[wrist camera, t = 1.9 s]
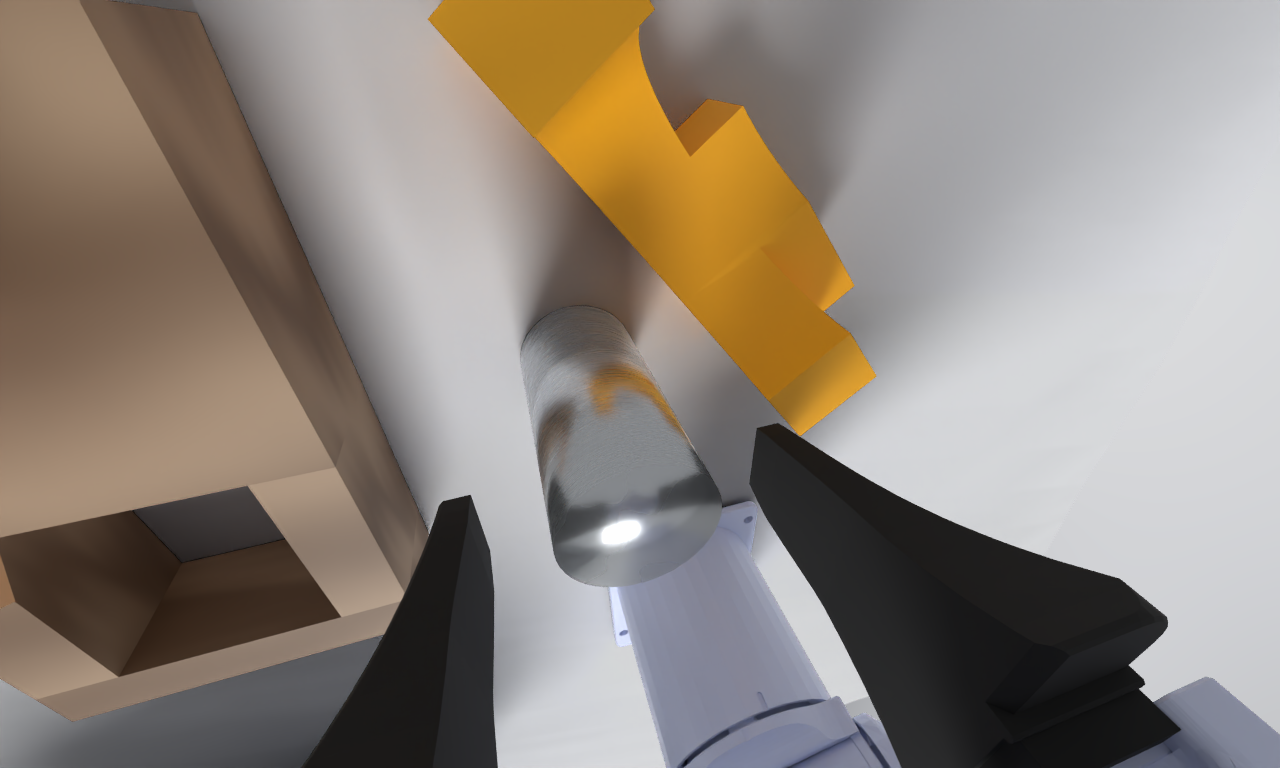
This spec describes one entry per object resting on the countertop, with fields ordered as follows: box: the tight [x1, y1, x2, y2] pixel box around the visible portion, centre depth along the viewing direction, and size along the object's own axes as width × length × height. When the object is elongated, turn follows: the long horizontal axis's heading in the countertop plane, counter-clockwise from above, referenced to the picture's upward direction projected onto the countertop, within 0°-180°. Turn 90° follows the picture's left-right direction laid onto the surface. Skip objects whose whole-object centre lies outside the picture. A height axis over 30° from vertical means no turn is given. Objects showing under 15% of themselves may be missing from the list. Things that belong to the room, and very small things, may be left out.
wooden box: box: [0, 0, 429, 722], centre depth 12 cm, size 17×10×6 cm, turn 2°
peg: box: [521, 306, 722, 587], centre depth 14 cm, size 4×4×8 cm
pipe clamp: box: [428, 0, 876, 436], centre depth 12 cm, size 12×4×6 cm, turn 39°
